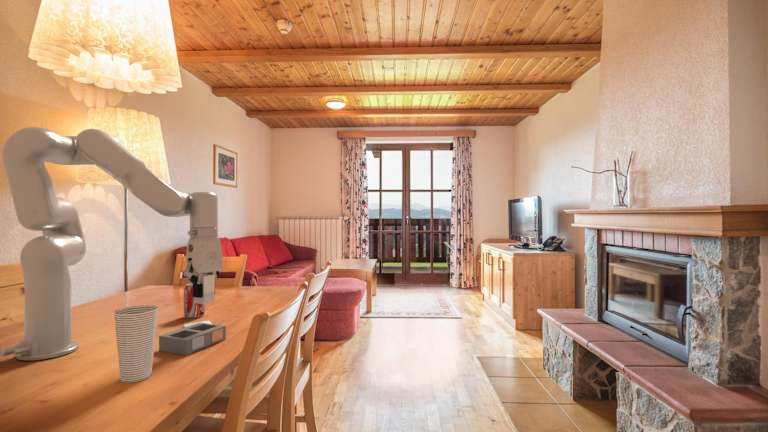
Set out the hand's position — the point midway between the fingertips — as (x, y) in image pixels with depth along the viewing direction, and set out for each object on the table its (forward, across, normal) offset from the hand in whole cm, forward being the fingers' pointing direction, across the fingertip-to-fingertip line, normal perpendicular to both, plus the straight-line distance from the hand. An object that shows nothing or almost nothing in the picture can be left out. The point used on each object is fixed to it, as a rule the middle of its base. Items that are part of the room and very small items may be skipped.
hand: (204, 294), depth 114 cm
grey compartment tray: (+14, -4, 0) cm, 14 cm away
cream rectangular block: (+2, 0, 0) cm, 2 cm away
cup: (+14, -26, -6) cm, 30 cm away
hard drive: (+14, +8, +10) cm, 19 cm away
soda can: (+14, +20, +25) cm, 35 cm away
